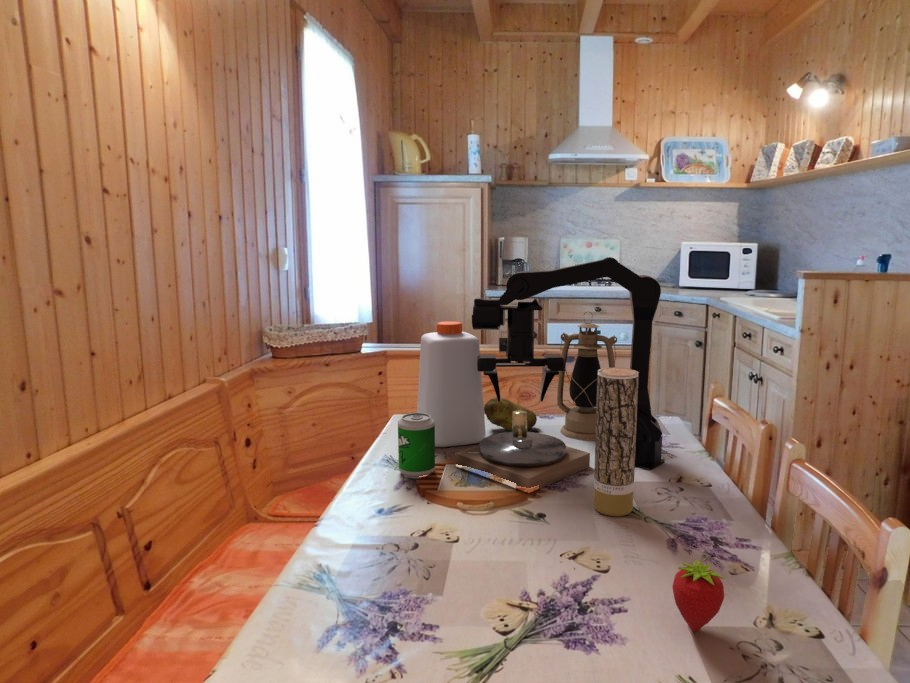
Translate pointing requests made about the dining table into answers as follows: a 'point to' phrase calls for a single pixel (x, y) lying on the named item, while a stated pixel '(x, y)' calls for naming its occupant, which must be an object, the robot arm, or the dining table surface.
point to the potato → (506, 413)
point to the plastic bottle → (451, 385)
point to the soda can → (416, 444)
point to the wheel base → (527, 475)
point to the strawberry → (698, 594)
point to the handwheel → (522, 446)
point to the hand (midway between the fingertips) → (520, 401)
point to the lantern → (583, 381)
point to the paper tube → (615, 440)
